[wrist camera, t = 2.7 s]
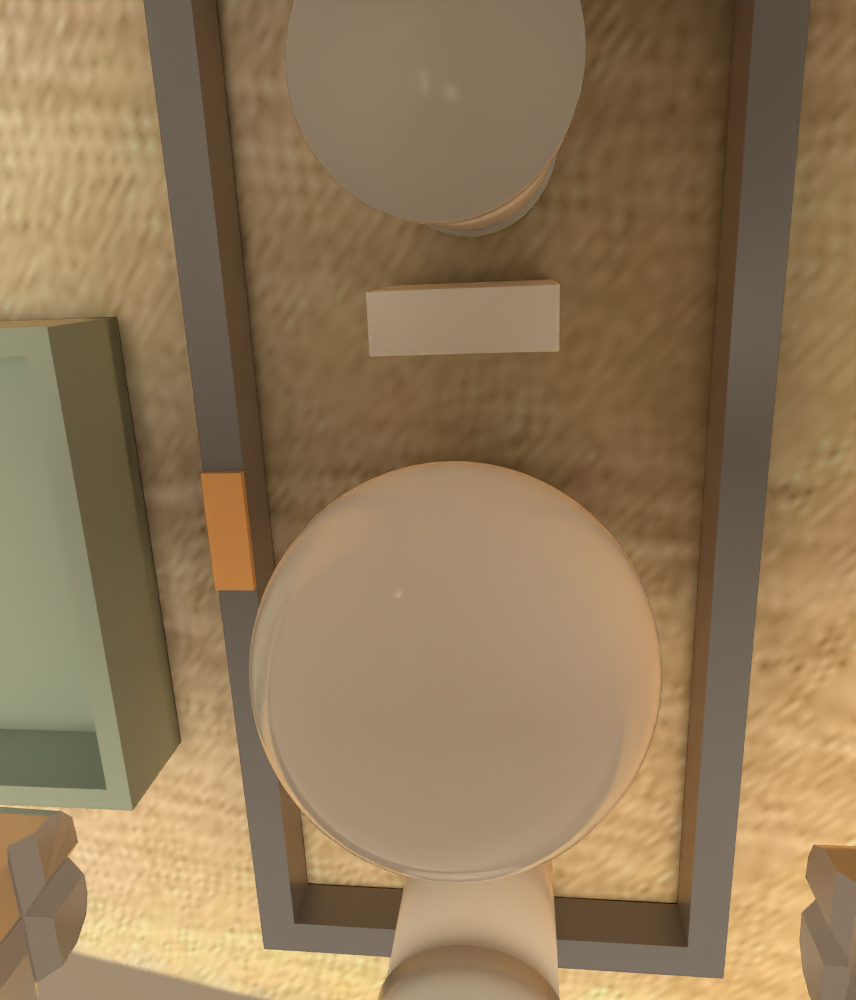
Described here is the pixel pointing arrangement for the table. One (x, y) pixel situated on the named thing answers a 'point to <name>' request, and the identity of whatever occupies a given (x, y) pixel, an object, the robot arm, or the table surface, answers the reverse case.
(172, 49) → the rail
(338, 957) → the table surface
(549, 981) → the cylinder
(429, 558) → the lightbulb
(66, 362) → the tray
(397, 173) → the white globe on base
